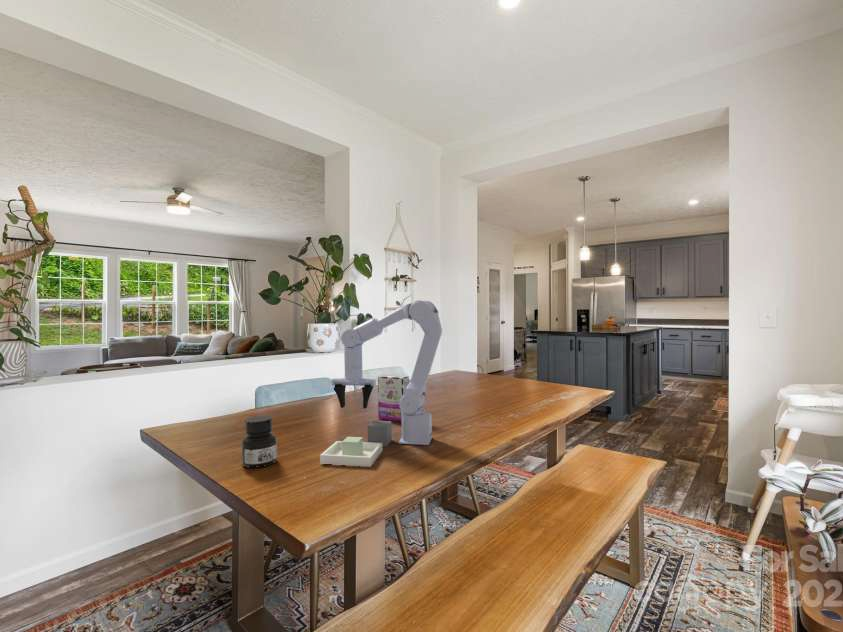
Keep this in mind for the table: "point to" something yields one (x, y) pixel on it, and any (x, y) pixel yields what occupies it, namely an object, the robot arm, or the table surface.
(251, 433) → the ink bottle
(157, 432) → the table surface
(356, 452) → the sage block
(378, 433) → the gray block
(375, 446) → the tray
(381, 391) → the candy bar box
